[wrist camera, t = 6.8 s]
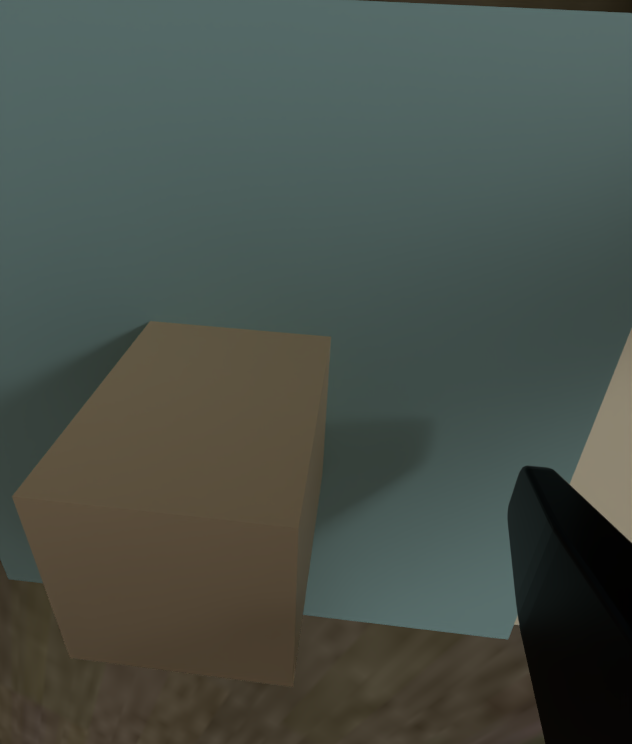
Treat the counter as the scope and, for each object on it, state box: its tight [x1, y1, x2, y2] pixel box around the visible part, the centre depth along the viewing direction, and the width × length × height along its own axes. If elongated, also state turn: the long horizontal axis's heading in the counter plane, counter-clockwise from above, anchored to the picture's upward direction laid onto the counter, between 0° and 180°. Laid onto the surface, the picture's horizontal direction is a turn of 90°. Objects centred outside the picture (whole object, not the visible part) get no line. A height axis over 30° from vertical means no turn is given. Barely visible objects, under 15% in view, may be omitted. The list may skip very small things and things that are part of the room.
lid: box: [0, 0, 632, 687], centre depth 8 cm, size 12×12×5 cm
